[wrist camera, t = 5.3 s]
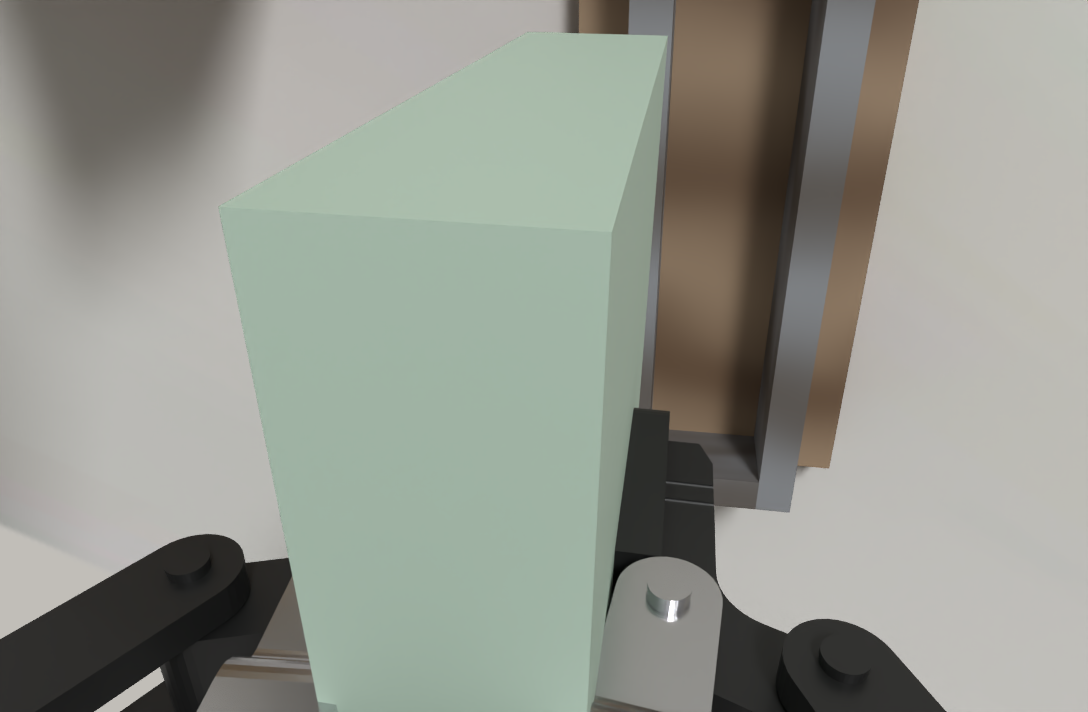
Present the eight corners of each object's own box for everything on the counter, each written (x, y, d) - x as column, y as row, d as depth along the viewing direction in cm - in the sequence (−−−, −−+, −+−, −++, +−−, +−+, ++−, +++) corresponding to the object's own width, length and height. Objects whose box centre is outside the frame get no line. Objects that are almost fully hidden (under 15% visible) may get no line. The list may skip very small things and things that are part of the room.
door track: (587, -282, 22) (563, -330, 18) (962, -306, 20) (1025, -366, 16) (581, 426, 33) (565, 490, 29) (823, 446, 32) (841, 517, 28)
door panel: (527, 32, 13) (216, 206, 5) (680, 36, 13) (647, 234, 4) (529, 554, 19) (391, 1067, 10) (634, 568, 19) (581, 1112, 10)
